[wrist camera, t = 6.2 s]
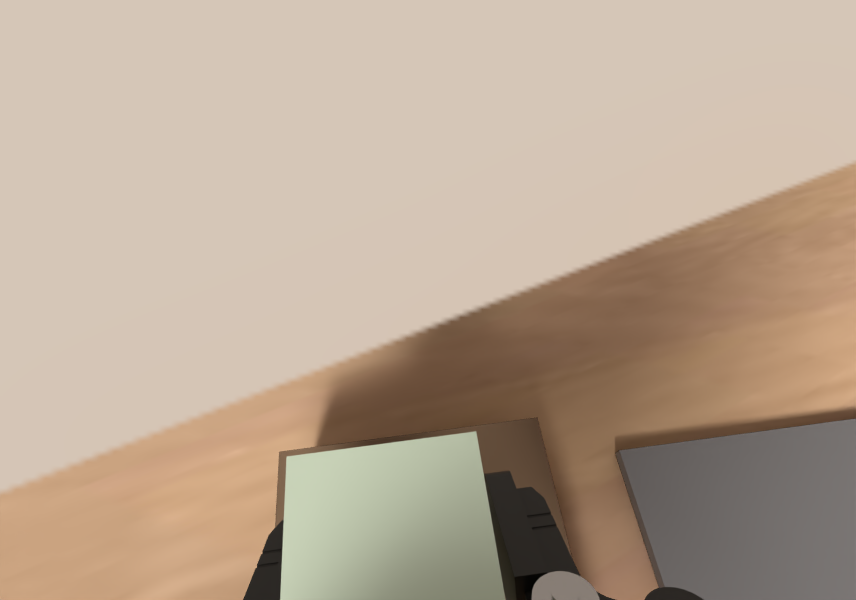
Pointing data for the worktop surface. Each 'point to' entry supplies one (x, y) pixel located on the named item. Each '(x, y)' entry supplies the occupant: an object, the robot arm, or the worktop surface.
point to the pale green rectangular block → (390, 523)
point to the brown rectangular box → (499, 451)
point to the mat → (750, 512)
